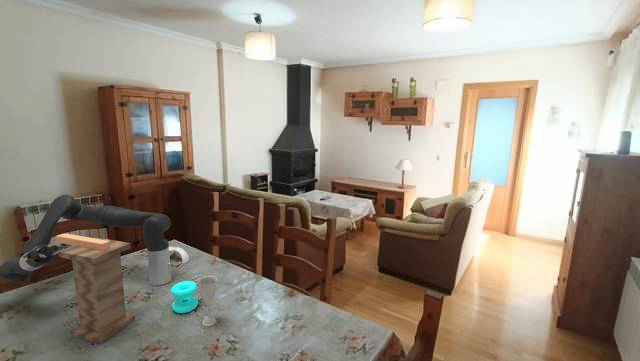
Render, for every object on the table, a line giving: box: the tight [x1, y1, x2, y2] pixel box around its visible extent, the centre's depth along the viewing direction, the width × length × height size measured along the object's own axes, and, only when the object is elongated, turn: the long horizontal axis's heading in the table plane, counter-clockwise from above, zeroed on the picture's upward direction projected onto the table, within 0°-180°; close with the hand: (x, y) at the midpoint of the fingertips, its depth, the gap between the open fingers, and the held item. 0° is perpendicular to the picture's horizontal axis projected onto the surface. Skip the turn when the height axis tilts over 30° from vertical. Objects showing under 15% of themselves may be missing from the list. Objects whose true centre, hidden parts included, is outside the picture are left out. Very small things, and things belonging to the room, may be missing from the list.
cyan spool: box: [170, 280, 199, 314], centre depth 128 cm, size 10×10×10 cm
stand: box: [57, 237, 136, 345], centre depth 112 cm, size 16×14×32 cm
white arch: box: [169, 246, 190, 264], centre depth 174 cm, size 24×12×7 cm, turn 67°
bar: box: [55, 232, 110, 251], centre depth 111 cm, size 22×3×2 cm, turn 74°
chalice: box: [197, 274, 218, 327], centre depth 119 cm, size 7×7×18 cm
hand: (60, 243), depth 114 cm, fingers open, 8 cm apart
